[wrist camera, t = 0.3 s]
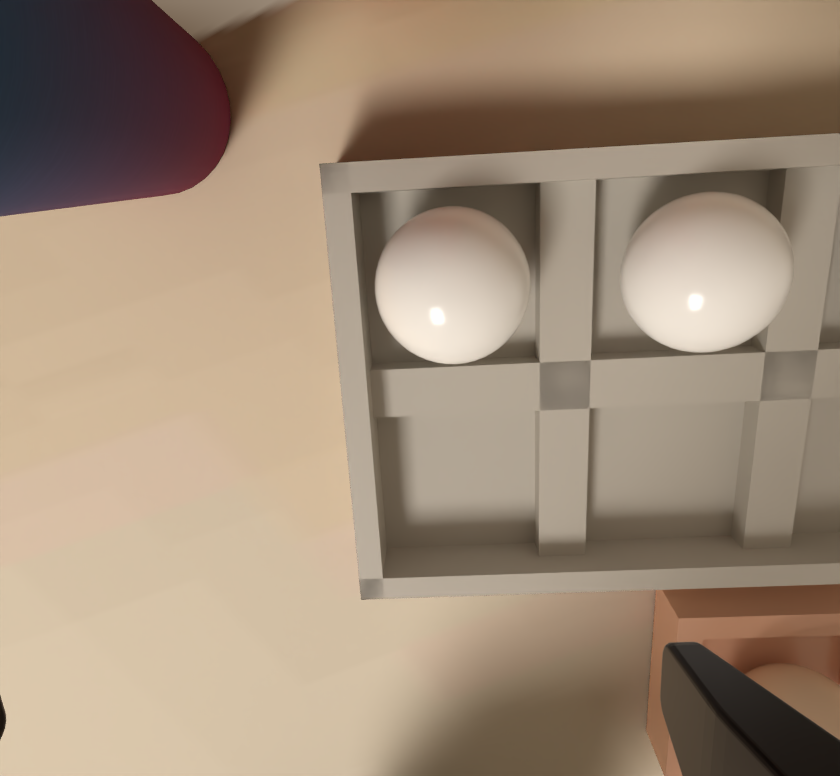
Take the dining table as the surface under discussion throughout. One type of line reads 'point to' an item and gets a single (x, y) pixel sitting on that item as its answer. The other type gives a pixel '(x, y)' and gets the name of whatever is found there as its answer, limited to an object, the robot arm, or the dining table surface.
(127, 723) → the dining table surface
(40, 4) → the cup
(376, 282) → the white egg
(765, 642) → the egg dish
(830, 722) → the brown egg
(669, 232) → the white egg
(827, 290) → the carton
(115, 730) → the dining table surface
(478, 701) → the dining table surface
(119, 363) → the dining table surface
